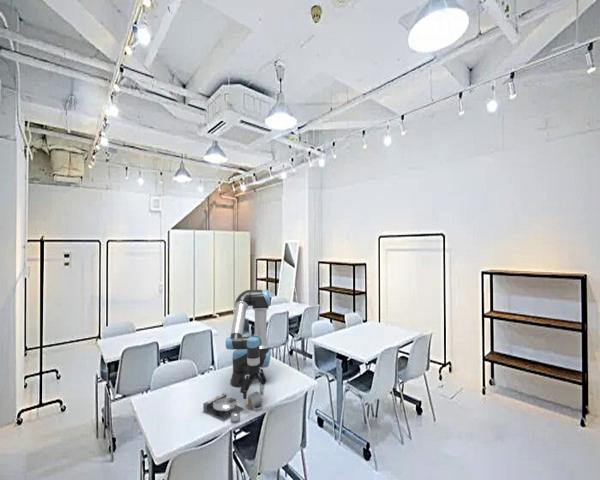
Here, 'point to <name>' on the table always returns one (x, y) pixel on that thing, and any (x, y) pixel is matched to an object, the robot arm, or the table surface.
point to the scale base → (219, 414)
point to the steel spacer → (235, 416)
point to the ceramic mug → (254, 401)
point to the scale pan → (224, 404)
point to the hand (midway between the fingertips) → (254, 399)
